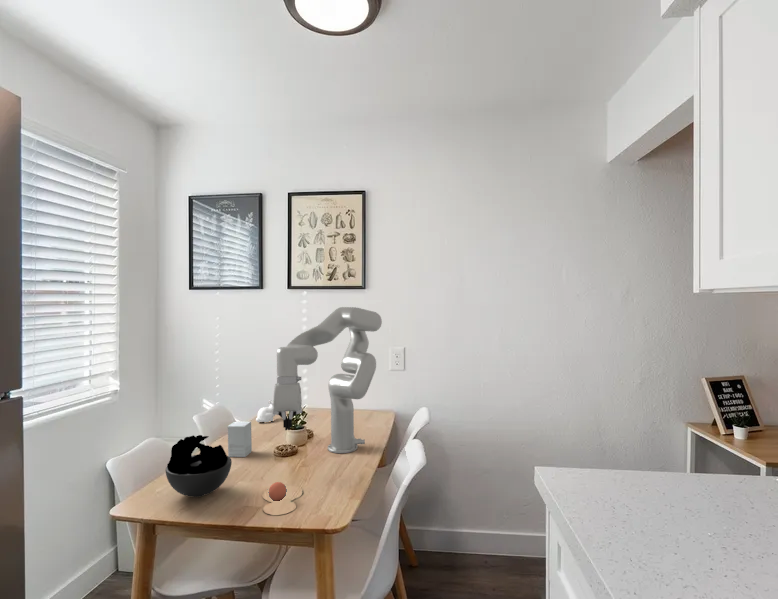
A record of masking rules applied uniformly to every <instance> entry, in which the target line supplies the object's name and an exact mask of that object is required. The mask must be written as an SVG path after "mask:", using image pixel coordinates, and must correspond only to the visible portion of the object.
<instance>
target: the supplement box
mask: <svg viewBox="0 0 778 599" xmlns="http://www.w3.org/2000/svg"><path fill="white" fill-rule="evenodd" d="M227 450H228V451H227V452H228V453H227V454H228V455H227V456H229V457H230V458H246V457H247V456H248V455H249V454H251V453H252V452H253V451H252V450H253V449H252V421H234V422H232V423H230V424H229V425H227ZM251 451H252V452H251Z"/></svg>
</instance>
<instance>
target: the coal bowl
mask: <svg viewBox="0 0 778 599" xmlns="http://www.w3.org/2000/svg"><path fill="white" fill-rule="evenodd" d="M209 437H210V436H207V435H204V436H203V435H202V434H198V435H194V434H193V435H191V436H186V437H185V436H184V439H182V438H181V439H179V440H178V441H177V442H176V443H174V445H172V447H171V449H170V451H171V452H170V459H169V462H168V463H167V465H166V466H165V477H166V479H167V481H168V483H169V484H170V487H171V488H172V489H173V490H174V491H176V492H177V493H179V494H180V495H183V496H186V497H192V498H199V497H203V496H207V495H209V494H211V493H213V492H214V491H216V490H218V489H219V488H220V487H221V486H222V485H223V484H224V482H225V480H226V479H227V478H228V477H229V474H230V471H231V468H232V462H233V460H232V457H229V456H228V455H227V453H226V451H225V449H224V447H223V446H222V445H221V444H219V445H217V446H216V445H215V446H211V445H205V444H204V443H202V442H203V441H205V440H206V439H209ZM196 449H199V453H198V454H193V453H194V451H195V450H196Z"/></svg>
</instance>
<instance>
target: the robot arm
mask: <svg viewBox="0 0 778 599" xmlns="http://www.w3.org/2000/svg"><path fill="white" fill-rule="evenodd" d="M382 322H383V321H382V317H381V315H380V314H379V313H378V312H376V311H372V310H368V309H364V308H362V307H356V306H355V307H353V306H350V307H349V306H342V307H338V308H336V309H334V310H333V311H332V313H331V314H329V315H328V316H327V317H326V318H324V319H323V321H321V323H319V324H318V325H316V326H314V327H312V328H310V329H307V330H306V331H304V332H302V333H300V334H298V335H297V336H295V337H294V339H292V340H290V342H289V343H288V344H287V345H286V346H281V347H278V348H277V350H276V383H275V384H274V390H273V401H272V402H273V414H276V415H277V416H280V418H281V419H282V420H283V424H282V425H283V427H282V428H284V431H290V430H291V428H292V427H293V418H294V417H295V416H296V415H298V414H299V415H300V414H302V413H303V409H302V406H303V405H302V402H303V401H302V390H301V389H302V388H301V384H300V382H299V381H302V376H299V375H298V366H309V365H311V364H314V363H315V362H316V361H317V360H318V357H319V354H318V350H317V349H316V348H315V347H316V346H319V345H325V344H328V343H331V342H332V341H334V340H335V339H336V338H337V337H338V336H339V335H340V334H341V333H342V332H343V331H344V330H345V329H346V328H348V331H349V334H350V340H349V342H348V344H347V345H348V346H347V347H346V350H345V352H344V354H343V357H342V360H341V363H340V367H341V370H342V371H343V372H345V373H336V374H334V375H333V376H331V377H330V379H329V381H328V392H329V398H330V435H331V436H330V438H331V439H330V444H328V445H327V450H328V452H330V453H334V454H347V453H352V452H355V451H357V449H358V445H366V444H365V443H366V442H365V439H363V438H356V437H355V429H354V428H355V426H354V425H355V424H354V423H355V422H354V414H355V413H354V409H355V408H354V402H353V400H361V399H363V398H365V396H366V394H367V392H368V390H369V387H370V386H371V382H372V380H373V377H374V375H375V372H376V369H377V359H376V357H375V356H374V355H373V354H372V353H370V352H367V351H368V348H369V344H370V343H369V342H370V341H369V339H368V336H367V335H368V334H367V333H366V332H373V333H374V332H377V331H378V330H379V329H380V328H381V327H382V324H383V323H382ZM347 373H348V374H347ZM352 374H353V375H352ZM287 412H289V415H288V416H287ZM276 415H275V416H276Z"/></svg>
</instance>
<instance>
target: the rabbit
mask: <svg viewBox="0 0 778 599" xmlns="http://www.w3.org/2000/svg"><path fill="white" fill-rule="evenodd" d="M268 404H269V406H267V407H266V406H264V407H261V408H259V410H258V411H257V417H256V418H255V422H257V423H259V422H269V421H273V419H275V418H274V417H275V416H276V414H273V401H272V400H271V399H270V398H269V400H268Z"/></svg>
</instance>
